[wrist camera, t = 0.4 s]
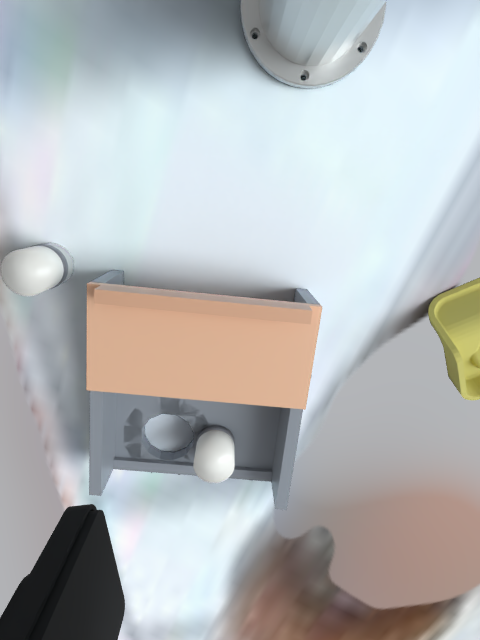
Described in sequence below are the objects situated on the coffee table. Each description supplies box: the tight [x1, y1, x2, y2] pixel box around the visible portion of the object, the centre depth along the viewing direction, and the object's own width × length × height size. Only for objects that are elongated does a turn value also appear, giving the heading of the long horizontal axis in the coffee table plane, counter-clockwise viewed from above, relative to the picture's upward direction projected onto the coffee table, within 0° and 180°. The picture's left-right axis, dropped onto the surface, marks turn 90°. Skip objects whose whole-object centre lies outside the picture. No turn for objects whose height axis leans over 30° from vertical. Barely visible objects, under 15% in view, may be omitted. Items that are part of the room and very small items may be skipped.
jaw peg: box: [1, 243, 74, 296], centre depth 39 cm, size 4×4×6 cm
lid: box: [86, 282, 322, 409], centre depth 36 cm, size 10×20×3 cm, turn 84°
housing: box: [89, 270, 320, 510], centre depth 43 cm, size 23×20×7 cm
